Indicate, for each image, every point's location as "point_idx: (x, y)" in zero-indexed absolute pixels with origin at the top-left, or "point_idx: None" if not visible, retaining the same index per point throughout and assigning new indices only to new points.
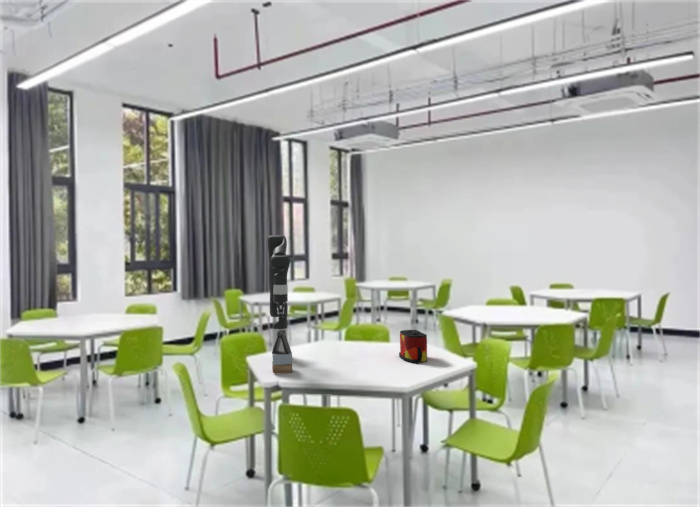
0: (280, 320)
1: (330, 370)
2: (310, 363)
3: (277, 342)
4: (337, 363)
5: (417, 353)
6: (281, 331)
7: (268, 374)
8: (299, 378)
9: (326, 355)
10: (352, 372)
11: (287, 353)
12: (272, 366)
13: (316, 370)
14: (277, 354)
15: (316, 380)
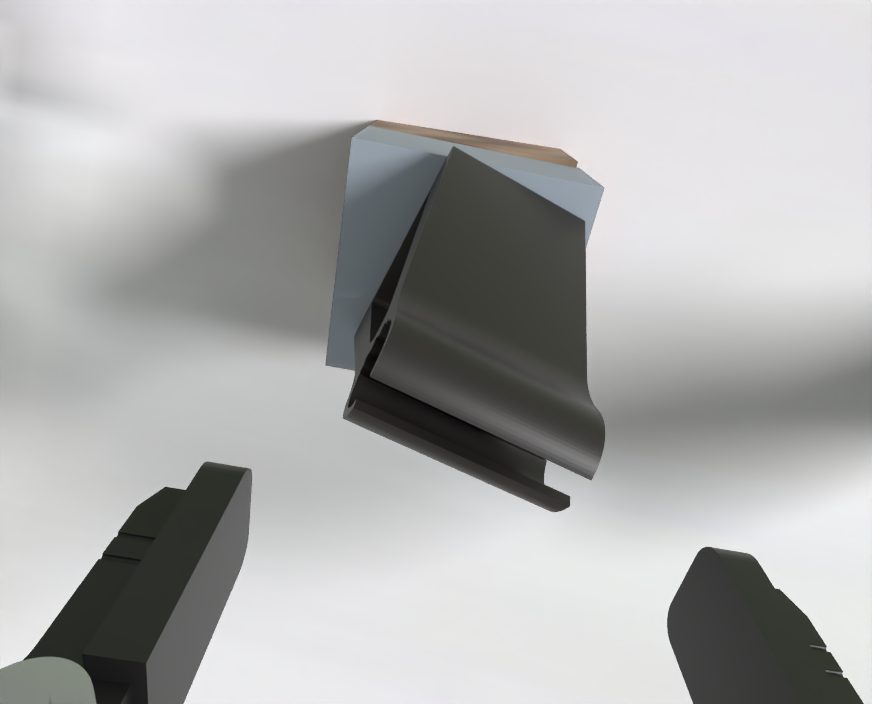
0: (88, 599)
1: (350, 543)
2: (647, 493)
3: (407, 261)
4: (550, 628)
5: None
6: (348, 416)
7: (363, 66)
8: (139, 299)
9: (857, 643)
10: (252, 624)
11: (359, 327)
12: (528, 148)
13: (383, 470)
14: (376, 207)
15: (56, 393)
